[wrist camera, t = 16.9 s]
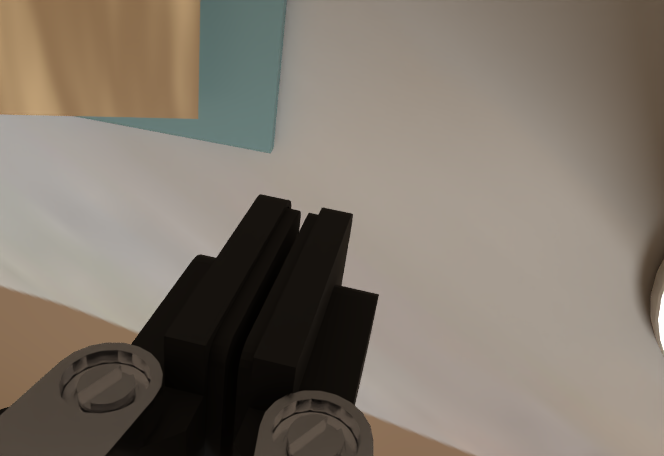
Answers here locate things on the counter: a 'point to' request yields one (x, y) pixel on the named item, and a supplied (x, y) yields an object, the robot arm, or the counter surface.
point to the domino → (100, 58)
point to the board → (231, 77)
